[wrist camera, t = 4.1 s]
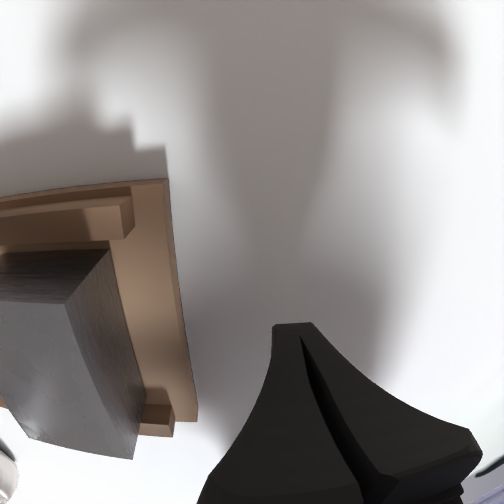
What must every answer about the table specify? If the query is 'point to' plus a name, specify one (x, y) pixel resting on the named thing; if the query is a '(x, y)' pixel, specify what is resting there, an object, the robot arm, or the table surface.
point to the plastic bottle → (7, 477)
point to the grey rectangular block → (68, 352)
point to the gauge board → (121, 275)
